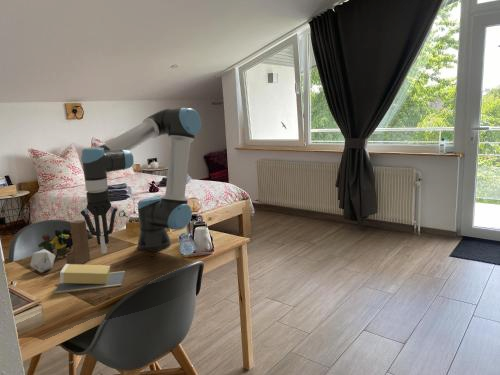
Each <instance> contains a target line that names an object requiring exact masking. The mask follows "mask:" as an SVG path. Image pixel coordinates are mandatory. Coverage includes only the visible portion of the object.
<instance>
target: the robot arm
mask: <svg viewBox="0 0 500 375" xmlns="http://www.w3.org/2000/svg"><path fill="white" fill-rule="evenodd" d="M201 129H202V119H201V116H200V115H199V113H198V112H197V111H196V110H195V109H193V108H190V107H189V108H188V107H179V108H177V107H176V108H165V109H161V110H159V111H158V112H156V113H153V114H151V115H150V116H148V117H146V118H144V119H143V120H142V122H141V123H140V124H138V125H136V126H134V127H133V128H131V129H128V130H127V131H125V132H124V133H122V134H119V135H118V136H116V137H114V138H112V139H111V140H109V141H107V142H105V143H103V144H102V145H99V146H98V147H97V146H96V147H87V148H83V149H82V150H81V156H80V158H81V164H82V168H83V176H84V184H85V185H84V186H85V191H86V193H85V194H86V202H87V204H86V208H84V209H82V210H81V211H80V214H81V215H82V217H84V221H86V227H87V228H88V230H89V231H90V233H89V234H90V235H91V236H95V237H96V242H97V245H98V246H99V245H100V251H101V254H106V253H107V252H108V248H107V244H109V241H110V240H109V235H110V234H111V235H112V233H113V232H114V225H115V220H116V218H115V217H116V213H117V212H118V209H119V208H118V207H117V206H114V205H112V203H111V201H110V195H109V190H108V189H109V185H108V183H109V182H108V176H107V173H110V172H116V171H122V170H123V171H124V170H127V169H128V170H129V169H130V168H132V167H133V166H134V162H135V161H134V156H133V153H132V150H133V149H134V148H135V149H136V148H137V147H138V146H140V145H142V144H143V143H145V142H147V141H149V140H150V139H156V138H158V137H160V136H163V135H167V138H169V140H170V147H169V148H170V149H169V156H168V157H169V158H168V169H167V176H166V184H165V185H166V186H165V193H164V195H163V196H153V197H148V198H147V197H146V198H143V199H141V200H139V201H138V202H137V213H138V214H137V215H138V223H139V235H138V239H137V240H138V241H137V248H138V250H140V251H144V252H156V251H160V250H164V249H166V248H168V247H170V246H171V245H172V244H171V243H172V242H171V238H170V236H169V233H168V231H167V229H170V230H172V231H173V230H176V231H177V230H178V231H179V230H183V229H185V228H186V227H187V226H188V225H189V224H190V222H191V219H192V213H193V212H192V208H191V206H190V205H188V202H189V201H188V198H187V197H186V188H187V178H188V168H189V162H190V160H189V158H190V150H191V143H193V142H194V140H195V138H196V137H195V135H197V134H199V132H201ZM109 210H110V212H111V214H110V221H109V226H108V220H107V219H108V218H107V214H108V212H109ZM89 213H91V215H93V219H94V225H93V222H92V220H91V217H90V214H89ZM100 216H101V217H100ZM100 218H101V222H100ZM100 223H102V230H103V232H102V231H101V224H100ZM94 226H95V227H94ZM102 233H103V234H102Z"/></svg>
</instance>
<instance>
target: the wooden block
mask: <svg viewBox="0 0 500 375" xmlns="http://www.w3.org/2000/svg"><path fill="white" fill-rule="evenodd" d="M69 225H70V226H69V227H70V232H71V234H72V241H73V246H72V249H73V250H72V251H70V254H67V256H65V257H66V258H65V259H66V260H65V261H66V264H79V265H84V264H85V263H87V262H89V261H91V255H90V246H89V238H88V232H87V223H86V221H85V219H84V220H83V219H82V220H81V219H77V220H74V221H71V222H70V223H69Z"/></svg>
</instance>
